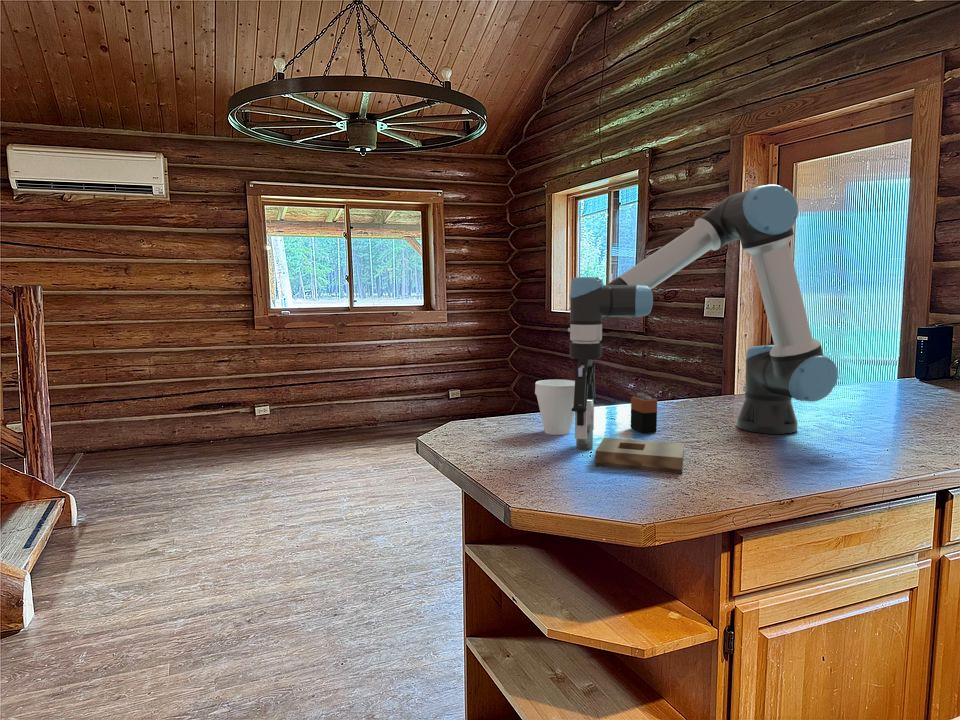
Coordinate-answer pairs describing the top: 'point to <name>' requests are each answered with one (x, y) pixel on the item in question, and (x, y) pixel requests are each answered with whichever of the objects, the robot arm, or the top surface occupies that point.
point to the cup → (556, 405)
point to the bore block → (640, 455)
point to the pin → (587, 443)
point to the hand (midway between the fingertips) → (584, 433)
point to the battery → (643, 413)
